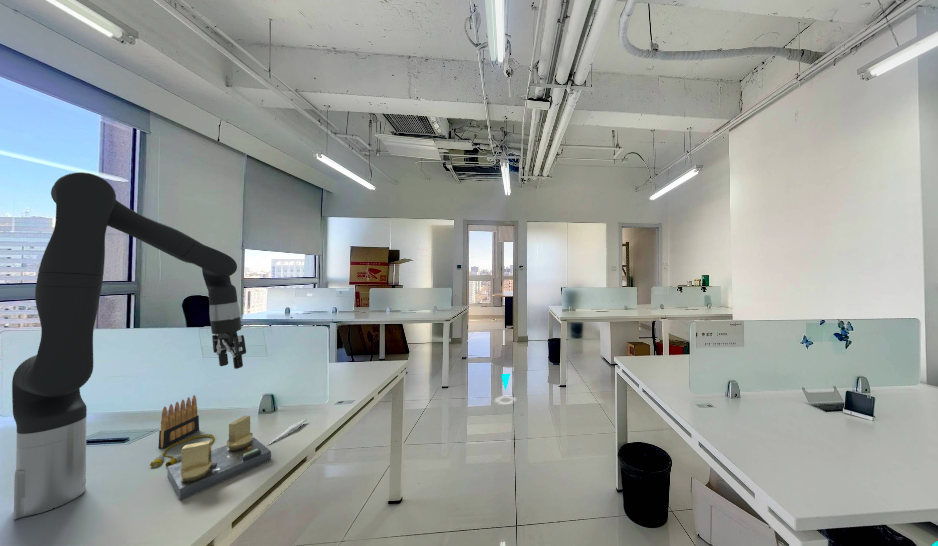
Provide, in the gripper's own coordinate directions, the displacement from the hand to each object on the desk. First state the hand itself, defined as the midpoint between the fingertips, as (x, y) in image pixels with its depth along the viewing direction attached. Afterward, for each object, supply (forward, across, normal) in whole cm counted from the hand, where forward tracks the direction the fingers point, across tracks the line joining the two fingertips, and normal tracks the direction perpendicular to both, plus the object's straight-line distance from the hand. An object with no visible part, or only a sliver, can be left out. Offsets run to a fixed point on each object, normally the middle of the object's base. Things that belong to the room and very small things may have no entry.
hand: (231, 366), depth 97 cm
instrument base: (+21, +18, -13) cm, 31 cm away
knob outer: (+19, +16, -7) cm, 26 cm away
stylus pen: (+23, +17, +5) cm, 29 cm away
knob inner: (+18, +21, -19) cm, 33 cm away
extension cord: (+21, -2, -13) cm, 25 cm away
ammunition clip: (+21, -12, -10) cm, 26 cm away
